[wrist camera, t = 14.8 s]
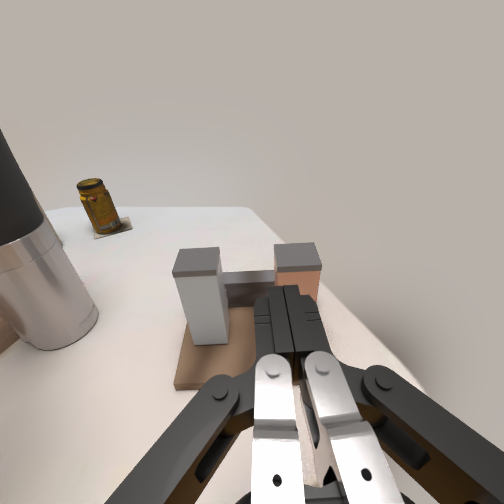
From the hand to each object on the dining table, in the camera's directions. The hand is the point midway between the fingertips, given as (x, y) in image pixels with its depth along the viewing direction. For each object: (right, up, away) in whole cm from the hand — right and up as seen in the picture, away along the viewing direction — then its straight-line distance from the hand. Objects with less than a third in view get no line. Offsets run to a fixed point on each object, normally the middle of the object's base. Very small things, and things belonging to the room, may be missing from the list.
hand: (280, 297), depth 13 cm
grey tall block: (-7, -9, +24) cm, 26 cm away
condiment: (-36, +8, +53) cm, 64 cm away
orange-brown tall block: (+4, -8, +23) cm, 25 cm away
